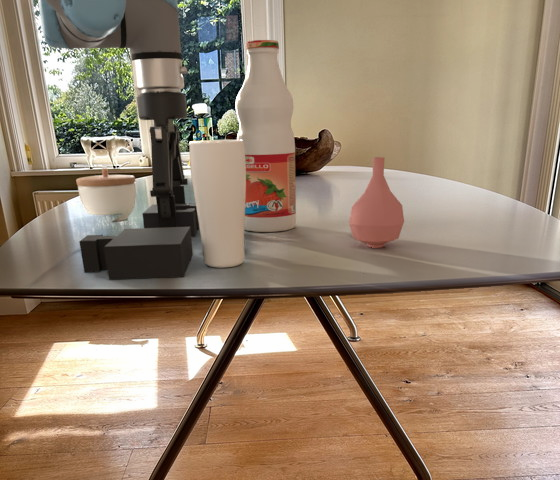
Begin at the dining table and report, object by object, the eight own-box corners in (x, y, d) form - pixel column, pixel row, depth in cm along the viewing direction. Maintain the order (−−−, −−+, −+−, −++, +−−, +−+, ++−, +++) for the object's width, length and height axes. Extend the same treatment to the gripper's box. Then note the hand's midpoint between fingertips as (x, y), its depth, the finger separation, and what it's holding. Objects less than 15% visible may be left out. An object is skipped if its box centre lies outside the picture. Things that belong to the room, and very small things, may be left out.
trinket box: (111, 214, 121) (104, 165, 118) (151, 217, 116) (145, 166, 113) (70, 222, 113) (61, 170, 109) (111, 225, 108) (104, 171, 104)
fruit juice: (307, 226, 102) (306, 40, 91) (269, 235, 96) (263, 36, 84) (267, 221, 108) (262, 46, 97) (229, 229, 102) (218, 42, 90)
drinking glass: (190, 262, 79) (180, 141, 73) (236, 255, 82) (230, 139, 76) (210, 272, 74) (201, 143, 68) (259, 265, 77) (254, 140, 71)
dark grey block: (145, 238, 96) (142, 213, 94) (154, 227, 105) (152, 204, 103) (195, 237, 96) (192, 211, 94) (200, 226, 105) (198, 203, 103)
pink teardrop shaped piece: (388, 239, 90) (392, 154, 85) (412, 249, 83) (417, 157, 78) (340, 243, 88) (341, 157, 83) (360, 253, 81) (363, 160, 77)
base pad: (75, 280, 72) (69, 247, 70) (99, 258, 83) (95, 229, 81) (183, 277, 72) (180, 243, 71) (193, 255, 83) (190, 226, 82)
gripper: (175, 87, 81) (189, 244, 89) (192, 93, 103) (203, 218, 112) (119, 89, 80) (139, 246, 89) (149, 95, 103) (163, 219, 112)
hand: (175, 231), depth 100 cm, fingers open, 13 cm apart
